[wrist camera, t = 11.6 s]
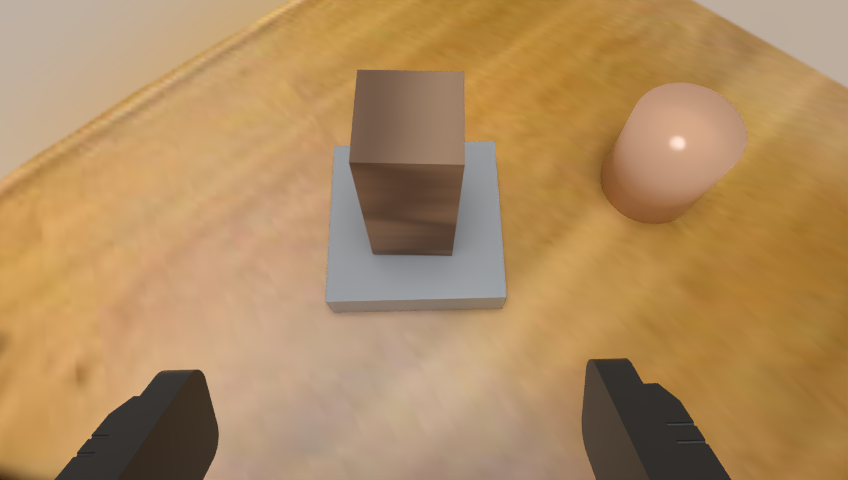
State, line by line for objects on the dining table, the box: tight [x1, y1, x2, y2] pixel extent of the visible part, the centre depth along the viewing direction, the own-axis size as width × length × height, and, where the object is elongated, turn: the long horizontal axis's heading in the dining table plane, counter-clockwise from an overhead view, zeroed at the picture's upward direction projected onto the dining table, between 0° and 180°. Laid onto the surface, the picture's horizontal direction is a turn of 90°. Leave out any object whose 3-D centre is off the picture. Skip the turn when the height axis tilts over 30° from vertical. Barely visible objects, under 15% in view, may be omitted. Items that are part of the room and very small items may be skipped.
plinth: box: [325, 141, 507, 313], centre depth 32 cm, size 10×10×3 cm
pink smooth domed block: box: [601, 83, 747, 224], centre depth 30 cm, size 6×6×6 cm
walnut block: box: [349, 70, 465, 256], centre depth 25 cm, size 4×4×10 cm
